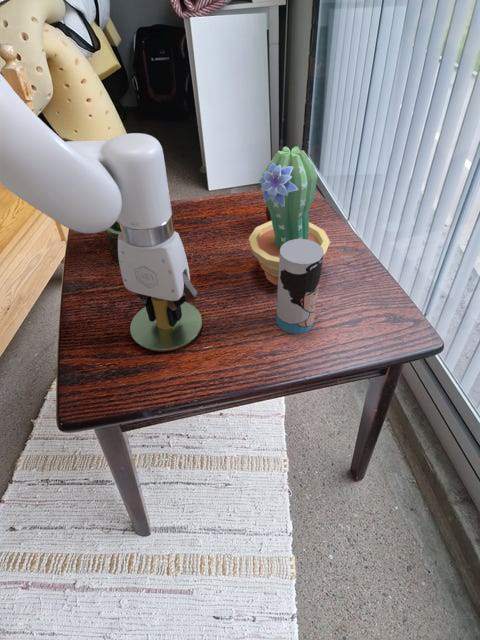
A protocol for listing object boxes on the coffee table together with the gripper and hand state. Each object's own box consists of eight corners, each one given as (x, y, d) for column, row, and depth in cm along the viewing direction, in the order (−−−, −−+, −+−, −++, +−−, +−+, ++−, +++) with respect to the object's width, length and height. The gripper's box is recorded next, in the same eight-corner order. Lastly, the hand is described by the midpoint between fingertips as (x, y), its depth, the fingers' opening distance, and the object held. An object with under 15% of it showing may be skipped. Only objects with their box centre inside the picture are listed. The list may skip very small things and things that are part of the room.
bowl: (101, 259, 90) (92, 228, 85) (129, 231, 98) (122, 201, 93) (149, 269, 87) (143, 238, 82) (174, 239, 95) (170, 209, 90)
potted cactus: (237, 262, 88) (233, 141, 71) (301, 244, 93) (312, 126, 75) (269, 306, 78) (274, 178, 61) (340, 284, 82) (363, 159, 65)
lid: (117, 343, 72) (107, 311, 67) (152, 298, 81) (145, 266, 75) (184, 362, 69) (178, 329, 64) (213, 312, 77) (210, 280, 72)
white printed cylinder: (306, 338, 72) (315, 268, 62) (270, 327, 74) (273, 257, 64) (318, 314, 76) (329, 244, 66) (284, 303, 79) (289, 235, 68)
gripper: (83, 230, 60) (113, 322, 73) (188, 251, 56) (200, 345, 69) (112, 205, 65) (135, 295, 78) (210, 223, 61) (217, 315, 74)
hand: (165, 318), depth 73 cm, fingers closed on lid, 3 cm apart
